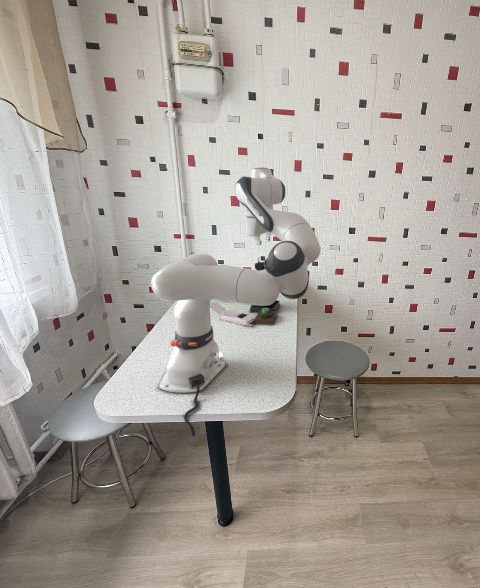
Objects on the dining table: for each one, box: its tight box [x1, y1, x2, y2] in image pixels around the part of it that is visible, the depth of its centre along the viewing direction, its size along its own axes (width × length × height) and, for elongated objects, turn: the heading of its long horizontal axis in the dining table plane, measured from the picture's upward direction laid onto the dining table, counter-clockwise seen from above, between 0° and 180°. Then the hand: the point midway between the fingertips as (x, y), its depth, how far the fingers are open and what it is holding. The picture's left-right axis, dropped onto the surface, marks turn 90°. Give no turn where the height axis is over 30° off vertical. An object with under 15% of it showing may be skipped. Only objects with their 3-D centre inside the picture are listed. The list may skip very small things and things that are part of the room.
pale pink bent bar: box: [210, 300, 255, 327], centre depth 151 cm, size 6×6×25 cm
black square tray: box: [249, 299, 280, 314], centre depth 164 cm, size 11×12×3 cm
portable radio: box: [254, 257, 273, 308], centre depth 160 cm, size 8×6×25 cm
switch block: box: [253, 310, 277, 326], centre depth 153 cm, size 10×8×4 cm
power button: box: [262, 308, 269, 314], centre depth 152 cm, size 3×3×2 cm
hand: (263, 243), depth 140 cm, fingers open, 6 cm apart
